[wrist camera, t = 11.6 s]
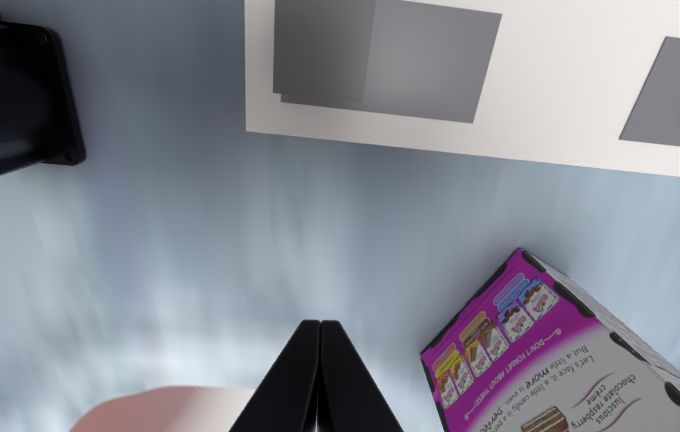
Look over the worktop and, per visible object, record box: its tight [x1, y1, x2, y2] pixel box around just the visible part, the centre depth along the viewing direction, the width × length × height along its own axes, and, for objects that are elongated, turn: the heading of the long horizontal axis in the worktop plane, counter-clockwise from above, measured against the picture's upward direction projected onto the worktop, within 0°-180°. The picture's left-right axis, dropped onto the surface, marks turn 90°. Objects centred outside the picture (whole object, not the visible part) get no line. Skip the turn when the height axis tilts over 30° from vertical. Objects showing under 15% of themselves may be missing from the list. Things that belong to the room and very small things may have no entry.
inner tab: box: [273, 0, 376, 103], centre depth 12 cm, size 3×3×3 cm
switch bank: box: [244, 0, 680, 176], centre depth 15 cm, size 7×27×3 cm, turn 84°
